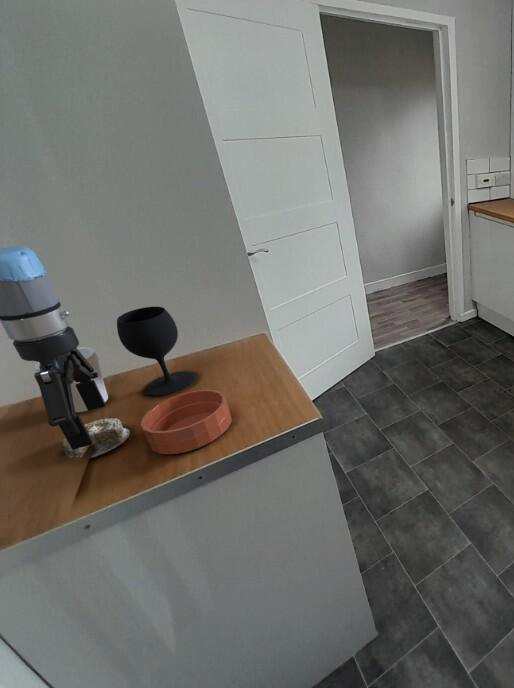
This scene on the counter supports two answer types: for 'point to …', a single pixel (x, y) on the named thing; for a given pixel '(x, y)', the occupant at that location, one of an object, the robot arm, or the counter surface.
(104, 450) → the cake
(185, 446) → the bowl
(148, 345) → the wine glass
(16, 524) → the counter surface
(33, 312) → the robot arm
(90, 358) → the foam cup
